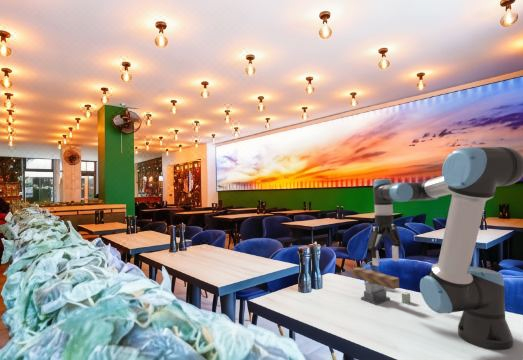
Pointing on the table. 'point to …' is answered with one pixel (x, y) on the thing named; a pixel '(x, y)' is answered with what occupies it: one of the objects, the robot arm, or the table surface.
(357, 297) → the table surface
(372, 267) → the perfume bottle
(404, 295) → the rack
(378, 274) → the batten
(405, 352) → the table surface
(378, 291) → the fulcrum
